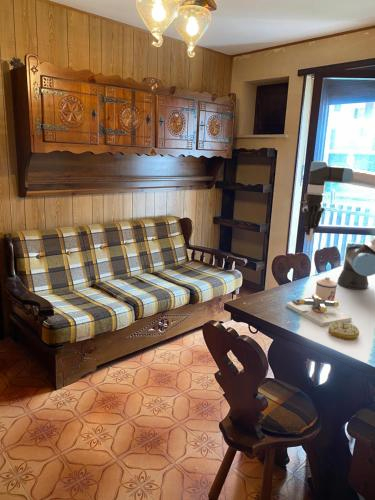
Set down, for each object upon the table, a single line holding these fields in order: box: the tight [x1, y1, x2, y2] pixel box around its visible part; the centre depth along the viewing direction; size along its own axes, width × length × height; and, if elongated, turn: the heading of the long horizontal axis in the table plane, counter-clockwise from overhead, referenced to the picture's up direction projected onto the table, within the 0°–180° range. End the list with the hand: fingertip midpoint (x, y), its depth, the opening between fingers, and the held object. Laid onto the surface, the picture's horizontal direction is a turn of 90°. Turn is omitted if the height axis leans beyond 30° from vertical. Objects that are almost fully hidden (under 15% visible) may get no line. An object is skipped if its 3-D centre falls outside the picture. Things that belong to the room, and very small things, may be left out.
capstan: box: [299, 293, 340, 313], centre depth 165 cm, size 17×17×5 cm
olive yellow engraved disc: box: [328, 322, 360, 341], centre depth 147 cm, size 10×11×4 cm
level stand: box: [286, 297, 352, 327], centre depth 166 cm, size 16×22×3 cm
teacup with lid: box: [314, 276, 338, 301], centre depth 181 cm, size 12×9×12 cm
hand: (308, 241), depth 193 cm, fingers closed
